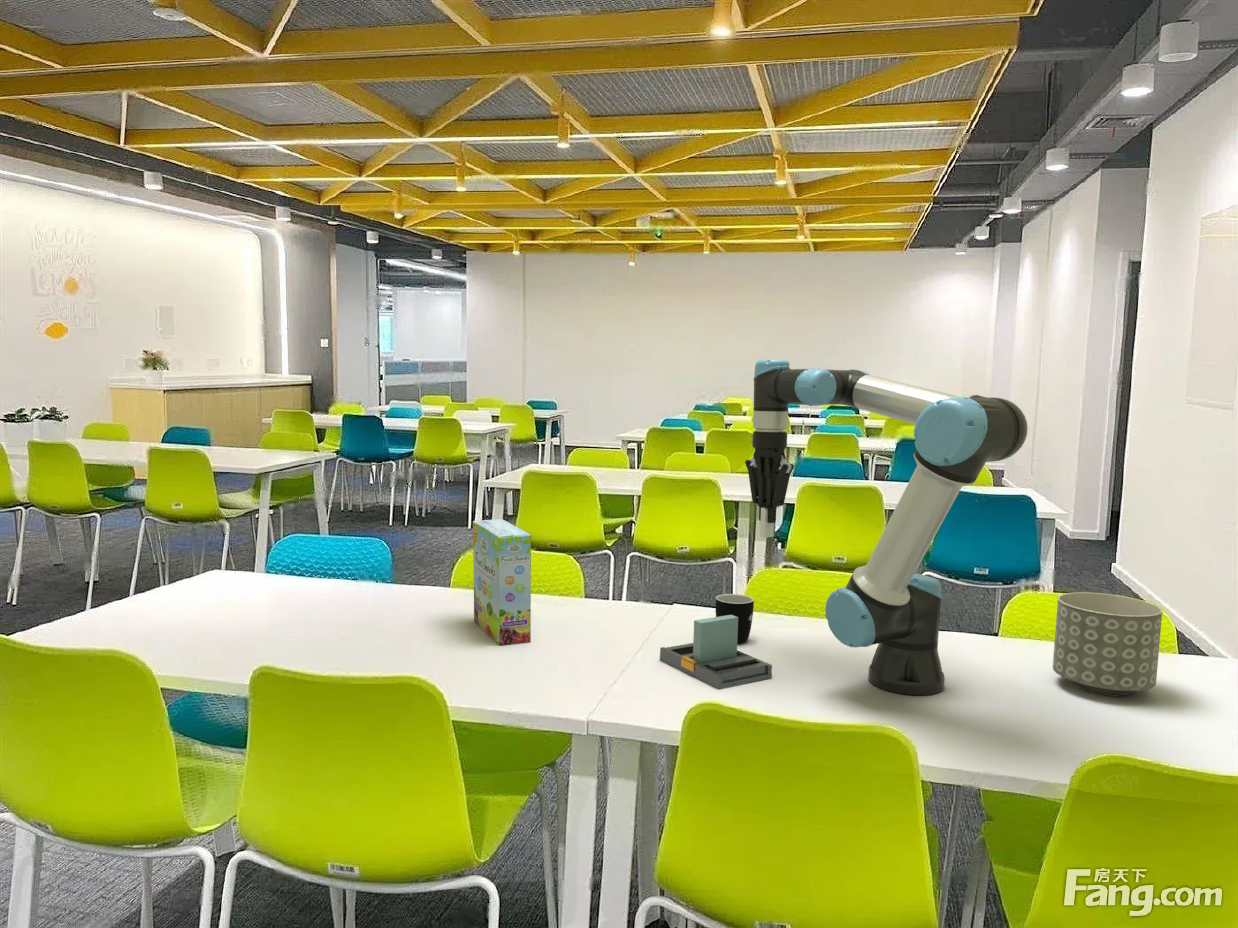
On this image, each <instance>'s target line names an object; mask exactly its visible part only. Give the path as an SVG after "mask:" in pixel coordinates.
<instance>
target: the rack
mask: <svg viewBox="0 0 1238 928" xmlns="http://www.w3.org/2000/svg"><path fill="white" fill-rule="evenodd" d="M659 649H660V651H659V661H661V662H663V663H665V664H667V665H669V666H672V667H673V668H674V669H677V670H679V671H681V672H683V673H685V674H686V675H689V676H691V677H693V678H695V679H697V680H699V681H701V682H703V683H705V684H707V685H709V686H711V687H714V688H715V689H717V690H722V689H727V688H732V687H735V686H736V687H737V686H741V685H746V684H751V683H755V682H760V681H761V682H762V681H765V680H770V679H772V678H773V674H772V671H773V664H770V663H768V662H765V661H763V660H761V659H759V658H756V657H754V656H751V655H749V654H747V653H744V652H742V651H740V650H738V649H737V656H734V657H729V658H723V659H718V660H712V661H707V662H702V663H698V661H695V660H693V642H691V643H684V644H680V645H679V644H678V645H673V646H667V647H665V646H663V647H662V646H661V647H660V648H659Z"/></svg>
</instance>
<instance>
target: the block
mask: <svg viewBox="0 0 1238 928" xmlns="http://www.w3.org/2000/svg"><path fill="white" fill-rule="evenodd" d="M737 637H738V617H736V616H733V615H726V616H720V617H716V616H715V617H709V618H708V617H706V618H701V619H696V620H694V621H693V638H692V639H693V640H692V641H693V642H692V643H693V660H695V661H698V663H702V662H707V661H712V660H718V659H723V658H729V657H734V656H737V650H738V644H737Z"/></svg>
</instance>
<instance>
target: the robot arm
mask: <svg viewBox="0 0 1238 928" xmlns="http://www.w3.org/2000/svg"><path fill="white" fill-rule="evenodd" d="M789 405H799V406H800V405H801V406H803V405H804V406H808V407H809V406H810V407H813V406H814V407H817V406H825V405H826V406H828V405H829V406H830V405H831V406H832V405H833V406H834V405H835V406H836V405H840V406H841V405H842V406H847V407H851V408H855V409H858V410H862V411H865V412H870V413H873V414H876V415H881V416H883V417H887V418H890V419H895V420H898V421H902V422H905V423H908V424H912V425H914V428H913V429H914V430H913V437H914V438H915V440H914V442H913V443H914V446H915V451H914V452H913V458H914V460H915V463H916V467H915V469H914V472H913V474H912V475H911V477H910V479H909V481H908V483H907V485H906V487H905V489H904V491H903V492H902V494H901V496H900V498H899V501H898V503H897V505H896V506H895V508H894V510H893V513H892V514H891V516H890V518H889V520H888V522H887V524H886V526H885V528H884V529H883V532H882V534H881V535H880V537H879V540H878V542H877V543H876V545H875V547H874V549H873V551H872V553H871V555H870V557H869V559H868V560H867V563H866V564H865V565H862V566H861V565H860V566H859V567H856V568H855V569H854V570H853V573H852V574H851V576H850V578H849V580H848V582H847V584H846V586H845V587H840V588H836V590H834V591H832V592H831V593H830V594H829V596H828V597H827V599H826V602H825V618H826V619H827V625H828V628H829V630H830V632H831V633H832V634H833V636H834V637H835V638H836V639H837V640H838V642H840V643H841V644H843V645H844V646H846V647H850V648H867V647H870V646H874V645H877V644H878V645H877V647H876V650H875V652H874V655H873V658H872V661H871V664H869V666H868V673H867V674H868V676H867V678H868V681H869V683H871V685H873V686H875V687H877V688H879V689H881V690H885V691H888V692H892V693H896V694H903V695H911V696H913V695H915V696H926V695H935V694H938V693H940V692H942V691H943V690H944V689H945V682H946V681H945V680H946V679H945V674H944V671H943V668H942V663H941V659H940V655H939V650H938V649H939V647H938V645H939V644H938V643H939V631H940V618H941V617H940V615H941V603H942V602H941V600H942V589H941V588H942V587H941V586H942V585H941V583H940V581H939V580H938V579H936V578H934V577H932V576H929V575H928V576H927V575H925V574H920V573H916V571H917V570H918V568H919V566H920V564H921V562H922V561H923V558H924V556H925V555H926V553H927V551H928V550H929V547H930V545H931V544H932V542H933V540H934V539H935V536H936V535H937V533H938V531H939V530H940V527H941V525H942V524H943V522H944V521H945V519H946V516H948V515H947V514H948V513H949V511H950V509H951V508H952V506H953V504H954V503H955V501H956V499H957V497H958V495H959V494H960V491H961V489H962V488H963V487H966V486H970V485H971V486H972V485H973V484H974V483H975V482H976V480H977V479H978V477H979V475H980V474H981V471H982V470H983V468H984V466H985V465H986V463H989V462H990V463H992V462H999V461H1003V460H1006V459H1009V458H1011V457H1013V455H1015V454H1016V453H1017V452H1018V451H1019V450H1021V448H1022V447H1023V445H1024V443H1025V442H1026V439H1027V436H1028V423H1027V422H1028V421H1027V419H1026V416H1025V414H1024V412H1023V411H1022V409H1021V408H1020V407H1019V406H1018V405H1016V404H1015V403H1014V402H1012V401H1010V400H1008V399H1005V398H1002V397H1001V398H1000V397H989V396H988V397H987V396H983V395H982V396H981V395H979V394H973V395H969V396H966V397H965V396H958V395H955V394H950V393H948V392H942V391H939V390H935V389H930V388H926V387H922V386H918V385H913V384H909V383H906V382H905V383H904V382H900V381H896V380H891V379H887V378H884V377H879V376H877V375H876V376H875V375H871V374H870V373H868V372H867V371H865V370H859V369H824V368H823V369H822V368H793V369H792V368H790V362H789V360H786V359H760V360H757V361H756V362H755V365H754V375H753V411H752V412H753V413H752V428H753V429H754V431H753V432H752V443H751V445H752V448H753V449H754V452H753V457H751V458H750V459H746V460H745V461H744V464H745V466H746V469H747V471H748V480H749V486H750V494H751V501H752V503H753V504H756V505H757V506H758V509H759V510H758V511H759V512H758V513H759V514H758V520H759V522H760V525H759V526H760V527H759V528H760V531H759V537H760V538H765V539H767V538H774V536H775V535H774V534H775V533H774V532H775V523H776V520H777V509H778V507H783V506H784V504H785V500H786V496H787V493H788V492H787V491H788V486H789V482H790V481H789V480H790V476H791V474H792V472H793V470H794V467H795V466H794V464H793V463H789V462H788V461H787V458H786V455H785V450H786V449H787V447H788V433H787V431H785V430H787V429H788V421H789V420H788V417H789V414H788V413H789Z"/></svg>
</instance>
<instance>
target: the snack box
mask: <svg viewBox="0 0 1238 928" xmlns="http://www.w3.org/2000/svg"><path fill="white" fill-rule="evenodd" d="M472 544H473V546H472V547H473V549H472V551H473V552H472V553H473V622H475V623H476V624H477V625H478V626H479V627H480V628H481V629H482V630H483V631H484V632H485V633H486V634H487V635H488V636H489V637H490V638H491V639H492V640H494V642H496V644H497V645H498V646H507V645H509V646H510V645H516V644H524V643H532V641H531V640H532V639H531V637H532V636H531V634H532V633H531V632H532V630H531V629H532V628H531V627H532V626H531V621H532V620H531V619H532V617H531V616H532V615H531V613H532V610H531V609H532V608H531V606H532V605H531V603H532V601H531V598H532V594H531V591H532V589H531V587H532V585H531V583H532V582H531V580H532V578H531V577H532V575H531V571H532V569H531V568H532V567H531V566H532V561H531V560H532V556H531V555H532V534H530V533H528V532H526V531H525V530H523V529H521V528H520V527H517V526H516V525H514V524H512V523H511V522H509V521H506V520H504V519H503V518H498V519H497V518H496V519H484V520H483V519H481V520H473V521H472Z"/></svg>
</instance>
